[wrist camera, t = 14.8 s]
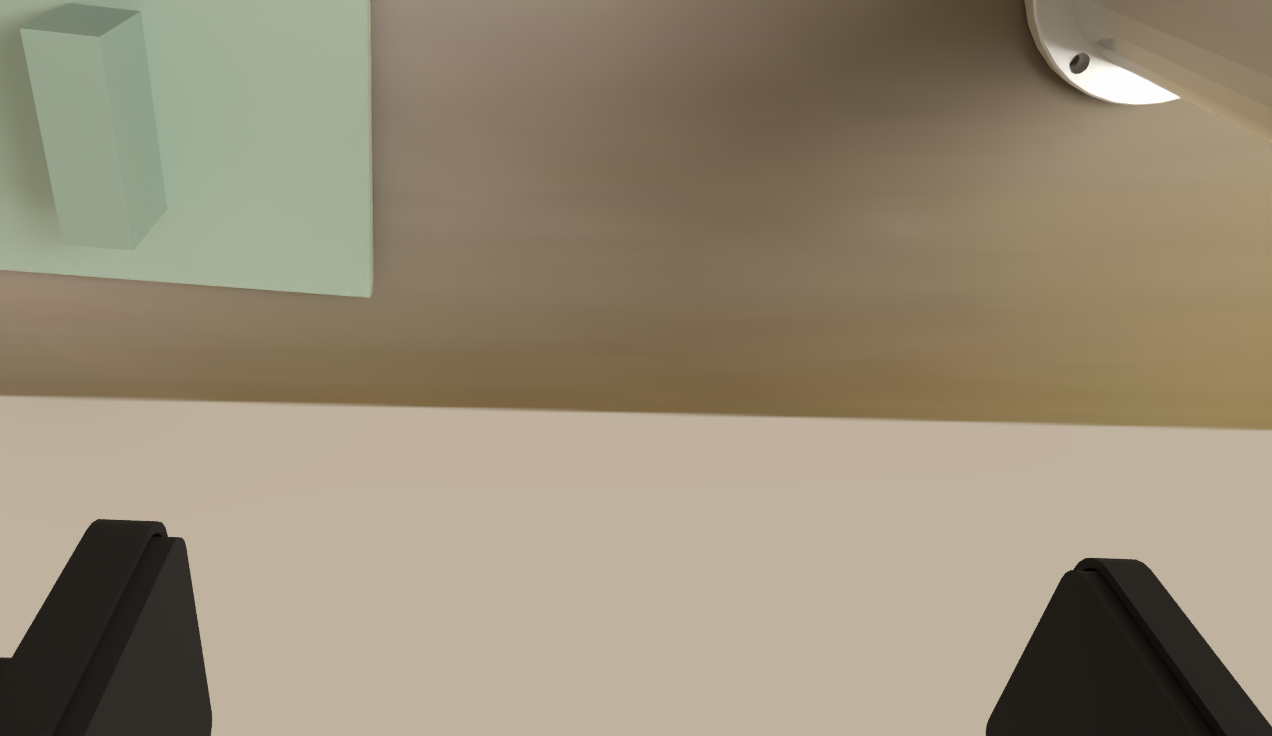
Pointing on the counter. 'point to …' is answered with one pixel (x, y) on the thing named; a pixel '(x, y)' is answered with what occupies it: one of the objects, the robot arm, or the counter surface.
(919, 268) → the counter surface
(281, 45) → the lid
